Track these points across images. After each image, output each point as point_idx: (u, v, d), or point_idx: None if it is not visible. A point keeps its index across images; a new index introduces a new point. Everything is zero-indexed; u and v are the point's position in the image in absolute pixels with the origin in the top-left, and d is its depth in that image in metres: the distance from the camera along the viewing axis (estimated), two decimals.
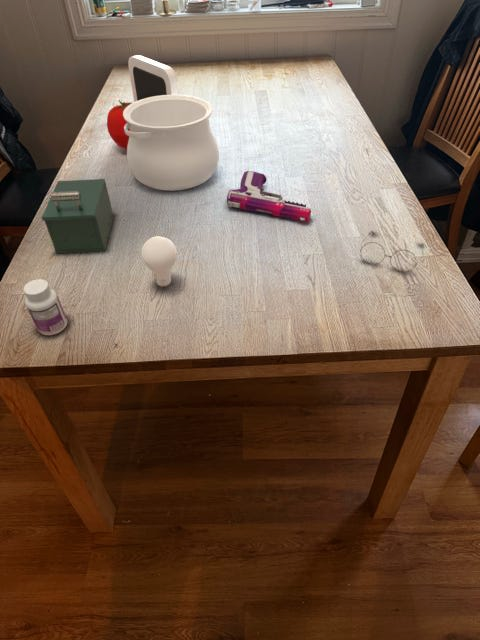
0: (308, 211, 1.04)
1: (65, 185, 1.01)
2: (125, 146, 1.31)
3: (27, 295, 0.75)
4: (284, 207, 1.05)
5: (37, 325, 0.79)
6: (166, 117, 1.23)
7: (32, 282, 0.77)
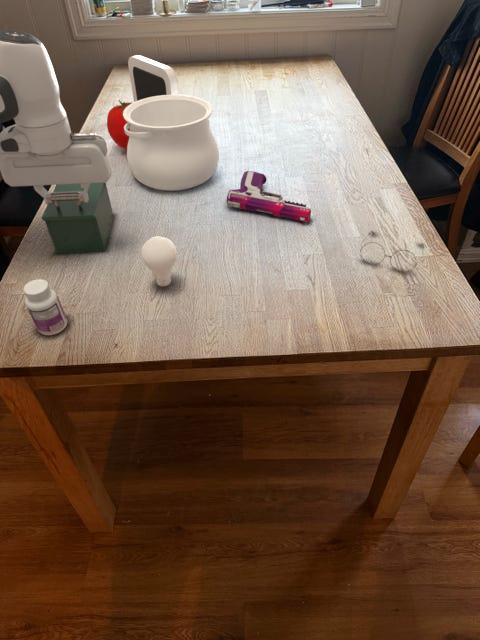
0: (308, 211, 1.04)
1: (65, 185, 1.01)
2: (125, 146, 1.31)
3: (27, 295, 0.75)
4: (284, 207, 1.05)
5: (37, 325, 0.79)
6: (166, 117, 1.23)
7: (32, 282, 0.77)
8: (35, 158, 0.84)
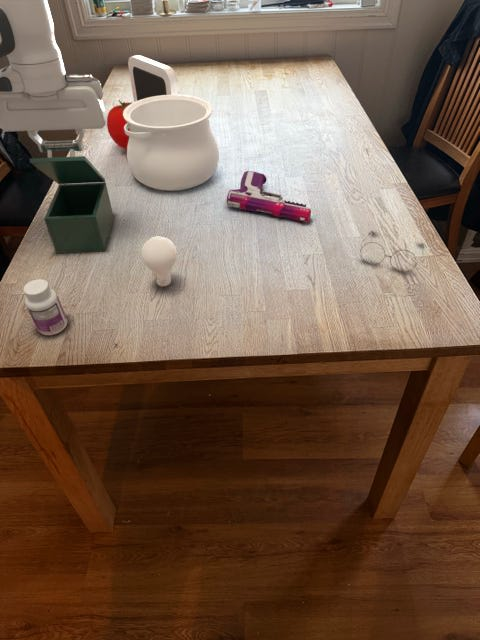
0: (308, 211, 1.04)
1: None
2: (125, 146, 1.31)
3: (27, 295, 0.75)
4: (284, 207, 1.05)
5: (37, 325, 0.79)
6: (166, 117, 1.23)
7: (32, 282, 0.77)
8: (29, 100, 0.82)
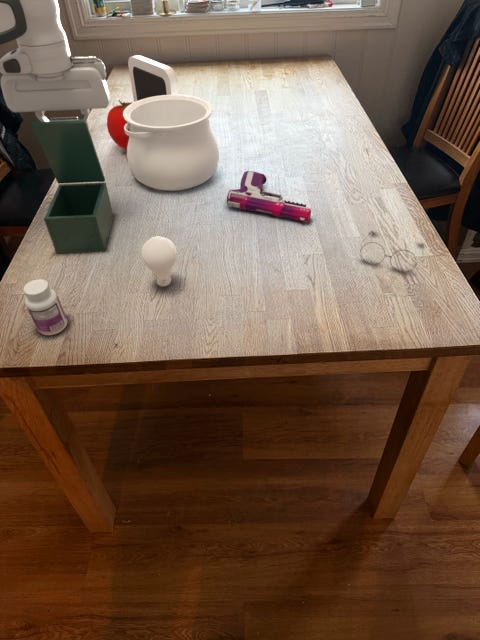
0: (308, 211, 1.04)
1: None
2: (125, 146, 1.31)
3: (27, 295, 0.75)
4: (284, 207, 1.05)
5: (37, 325, 0.79)
6: (166, 117, 1.23)
7: (32, 282, 0.77)
8: (36, 81, 0.87)
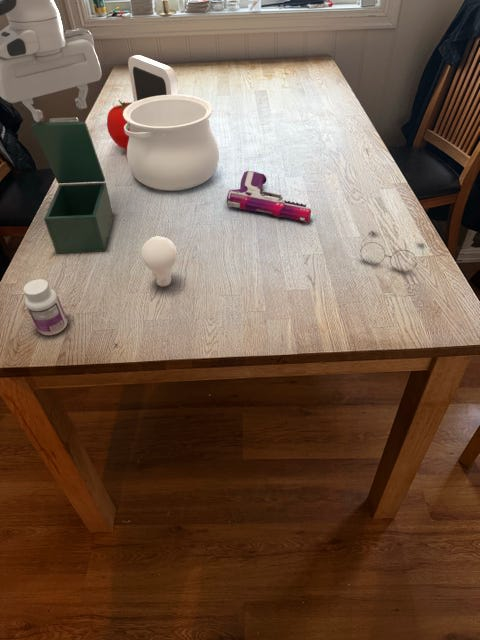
0: (308, 211, 1.04)
1: None
2: (125, 146, 1.31)
3: (27, 295, 0.75)
4: (284, 207, 1.05)
5: (37, 325, 0.79)
6: (166, 117, 1.23)
7: (32, 282, 0.77)
8: (35, 63, 0.82)
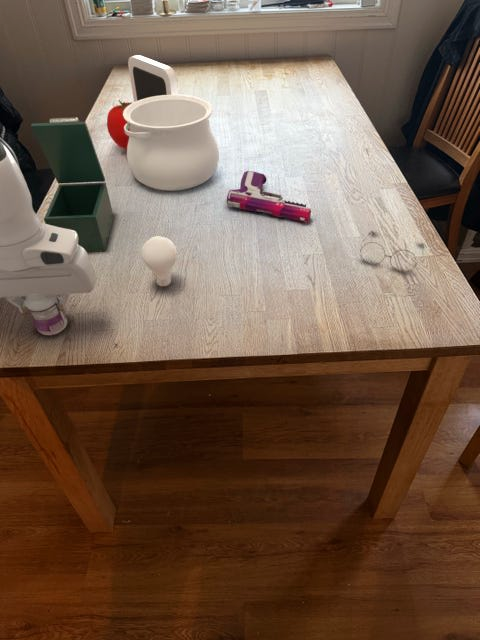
0: (308, 211, 1.04)
1: None
2: (125, 146, 1.31)
3: (27, 295, 0.75)
4: (284, 207, 1.05)
5: (37, 325, 0.79)
6: (166, 117, 1.23)
7: None
8: None
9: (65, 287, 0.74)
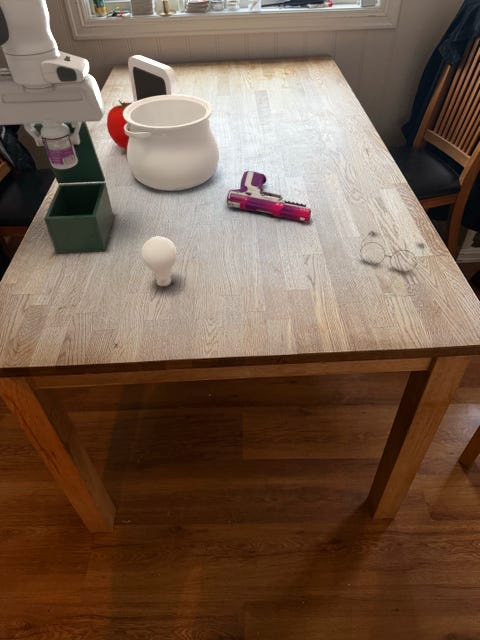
0: (308, 211, 1.04)
1: None
2: (125, 146, 1.31)
3: (43, 122, 0.84)
4: (284, 207, 1.05)
5: (51, 157, 0.89)
6: (166, 117, 1.23)
7: None
8: None
9: (77, 113, 0.84)
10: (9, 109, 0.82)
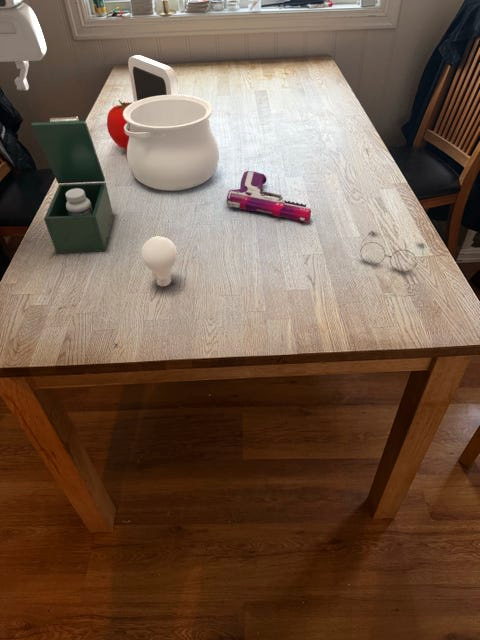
0: (308, 211, 1.04)
1: None
2: (125, 146, 1.31)
3: (68, 199, 0.96)
4: (284, 207, 1.05)
5: None
6: (166, 117, 1.23)
7: (71, 190, 0.97)
8: None
9: (11, 49, 0.71)
10: None
